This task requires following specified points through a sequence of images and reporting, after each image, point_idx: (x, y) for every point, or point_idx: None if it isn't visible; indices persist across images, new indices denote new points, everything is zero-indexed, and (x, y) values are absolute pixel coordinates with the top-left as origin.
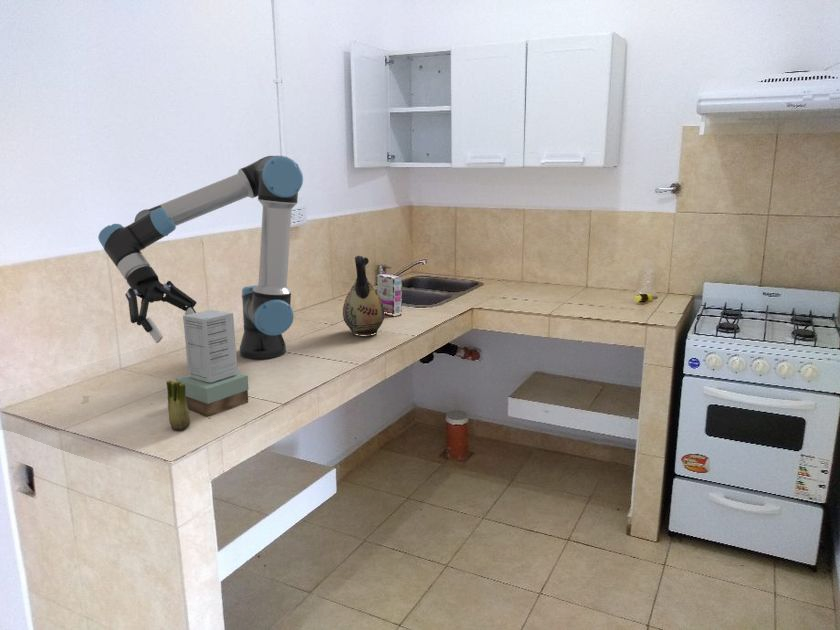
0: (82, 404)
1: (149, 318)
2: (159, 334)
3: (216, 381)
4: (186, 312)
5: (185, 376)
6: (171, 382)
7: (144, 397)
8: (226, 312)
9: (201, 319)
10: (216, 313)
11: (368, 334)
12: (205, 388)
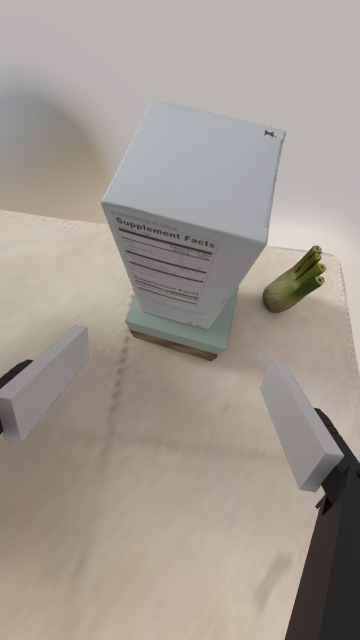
0: (293, 555)
1: (328, 445)
2: (286, 367)
3: None
4: (24, 423)
5: (207, 338)
6: (323, 270)
7: (207, 449)
8: (149, 119)
9: (282, 145)
10: (183, 137)
11: None
12: None
